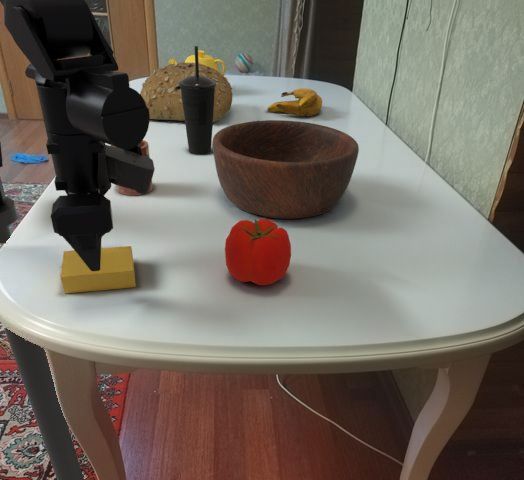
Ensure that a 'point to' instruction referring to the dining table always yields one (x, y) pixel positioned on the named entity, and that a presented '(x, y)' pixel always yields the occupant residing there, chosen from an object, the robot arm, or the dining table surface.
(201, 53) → the teapot
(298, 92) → the banana
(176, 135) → the dining table surface
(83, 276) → the block
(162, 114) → the bread
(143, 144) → the cup
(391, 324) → the dining table surface
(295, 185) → the wooden bowl
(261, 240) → the tomato
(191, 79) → the drinking cup
